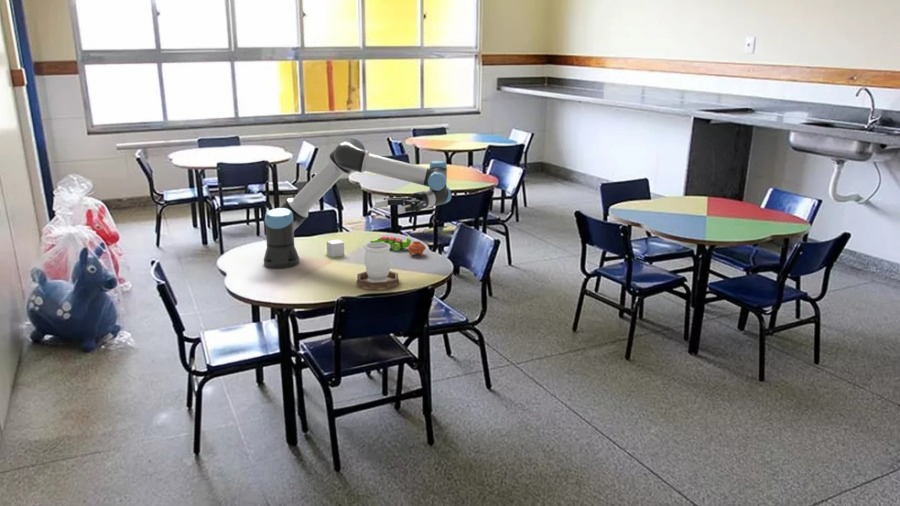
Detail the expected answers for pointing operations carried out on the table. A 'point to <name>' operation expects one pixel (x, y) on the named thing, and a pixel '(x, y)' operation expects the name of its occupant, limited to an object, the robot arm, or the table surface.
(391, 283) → the tray
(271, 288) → the table surface
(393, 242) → the toy crocodile
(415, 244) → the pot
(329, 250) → the white cube
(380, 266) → the jar
